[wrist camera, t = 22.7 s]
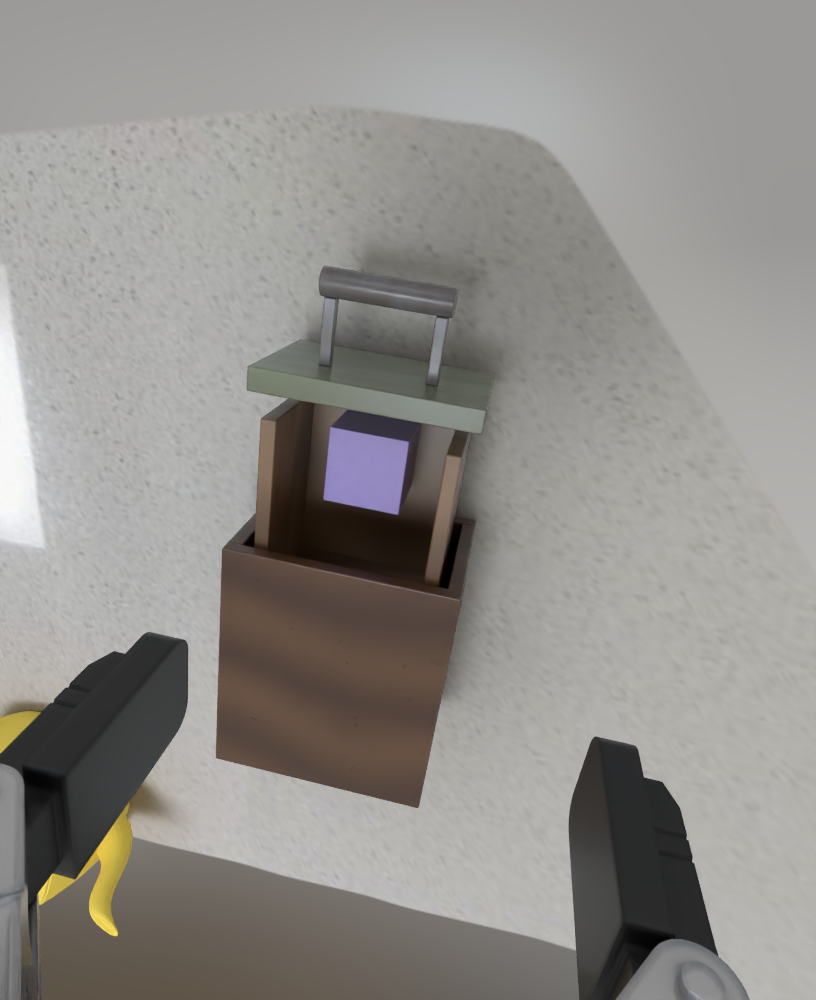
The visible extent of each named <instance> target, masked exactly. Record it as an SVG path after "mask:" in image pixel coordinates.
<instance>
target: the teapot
mask: <svg viewBox="0 0 816 1000" xmlns="http://www.w3.org/2000/svg"><path fill="white" fill-rule="evenodd" d="M40 713H41V712H36V711H23V712H18V713H14V714H10V715H7V716H4V717H1V718H0V753H1V752H2V751H3V750H4V749H5V748H6V747H7V746H8V745H9V744H10V743H11V742H12V741H13V740H14V739H15V738H16V737H17V736H18V735H19V734H20V733H21V732H22V731H23V730H24V729H25V728H26V727H27V726H28V725H29V724H30V723H31V722H32V721H33V720H34V719H35V718H36V717H37V716H38V715H39V714H40ZM129 805H130V801H129V803H128V804H127V806H126V807H125V809H124V810H123V812H122V813H121V814H120V816H119V817H118V819H117V820H116V822H115V823H114V825H113V826H112V827H111V829H110V830H109V832H108V833H107V835H106V836H105V838H104V839H103V840H102V842H101V843H100V845H99V846H98V848H97V849H96V851H95V852H94V854H93V855H92V856H91V858H90V859H89V861H88V862H87V864H86V865H85V867H84V868H83V869H82V871H81V872H80V874H79V875H78V877H77V878H76V880H77V879H78V878H79V877H81V876H82V875H83V874H84V873H85V872H86V871H88V870H89V869H90V868H91V867H92V866H93V865H94V864H95V863H96V862H97V861H98V860H99V859H100V861H101V872H100V875H99V877H98V879H97V881H96V884H95V886H94V888H93V890H92V893H91V896H90V901H89V909H90V910H89V911H90V914H91V917H92V918H93V920H94V921H95V923H96V924H97V925H98V926H99V927H101V928H102V929H103V930H104V931H106V932H107V933H109V934H110V935H112V936H117V935H118V931H117V928H116V926H115V924H114V921H113V918H112V915H111V900H112V895H113V892H114V889H115V887H116V885H117V882H118V880H119V878H120V876H121V874H122V872H123V870H124V868H125V866H126V863H127V861H128V859H129V855H130V852H131V848H132V838H133V836H132V830H131V825H130V823H129V821H128V819H127V817H126V815H127V813H128V809H129ZM76 880H75V879H71V878H68V877H64V876H60V875H57V874H52V875H51V876H50V878H49V879H48V880H47V882H46V883H45V884H44V886H43V887H42V889H41V890H40V891H39V893H38V896H39V905H41V904H42V903H44V902H46V901H48V900H49V899H51V898H52V897H54V896H55V895H56V894H58V893H59V892H61V891H62V890H63V889H65V888H66V887H68V886H69V885H71V884H72V883H73V882H74V881H76Z"/></svg>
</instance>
